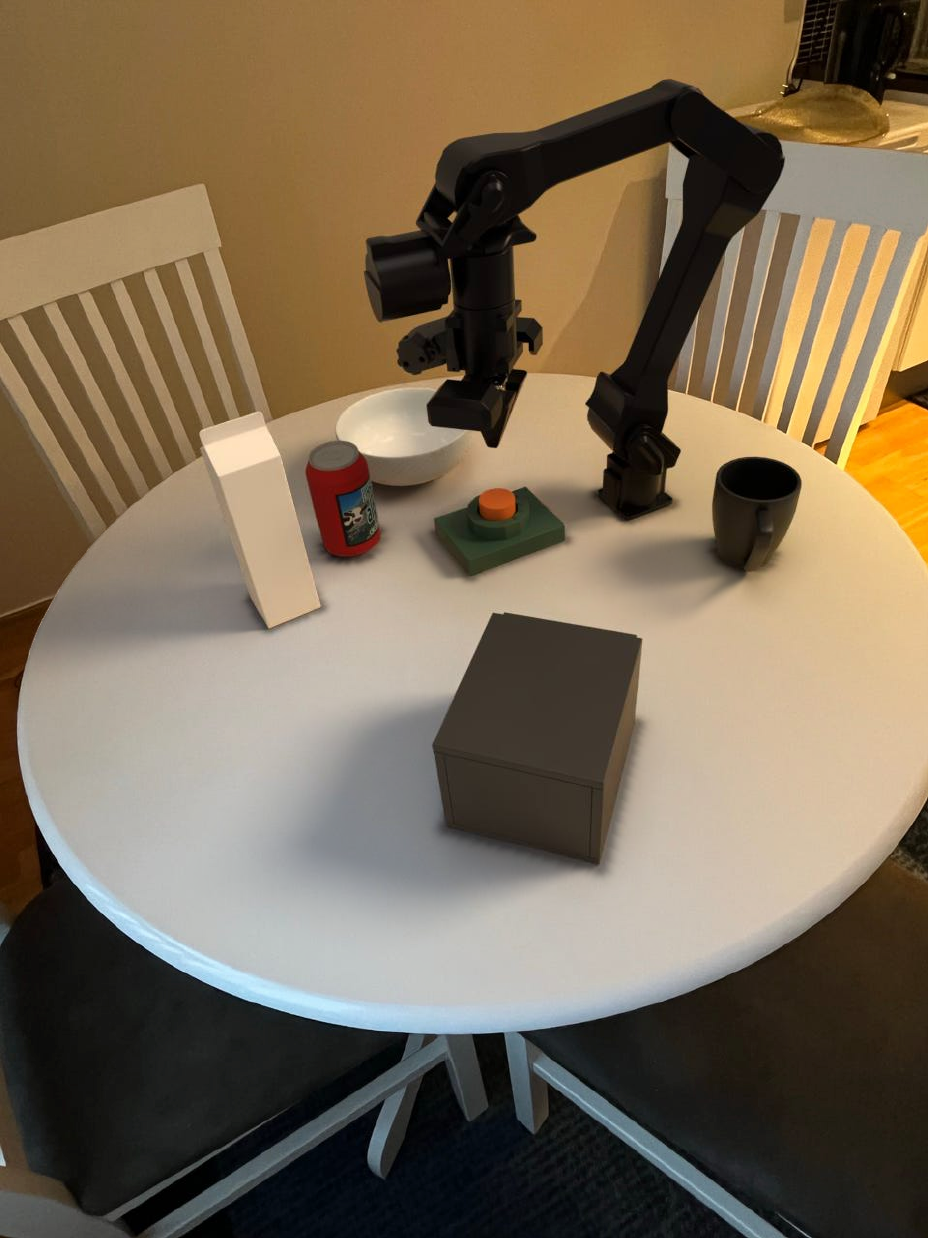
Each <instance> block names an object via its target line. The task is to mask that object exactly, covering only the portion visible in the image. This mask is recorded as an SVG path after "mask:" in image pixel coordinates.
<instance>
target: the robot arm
mask: <svg viewBox="0 0 928 1238" xmlns="http://www.w3.org/2000/svg"><path fill="white" fill-rule="evenodd" d="M667 144H670V145H671V147H672V148H674V149H675V151H677V152H678V153H680V154H681V155H682V156H683V157H684V158H686V159H688V162H687V164H686V165H687V166H686V169H685V172H684V177H683V181H682V220H681V223H680V227H679V228H678V231H677V234H676V235H675V238H674V241H673V243H672V245H671V248H670V251H669V253H668V255H667V258H666V260H665V263H664V265H663V268H662V270H661V273H660V275H659V276H658V277H659V278H658V280H657V283H656V285H655V287H654V289H653V292H652V295H651V296H650V300H649V302H648V305H647V307H646V309H645V311H644V314H643V317H642V319H641V321H640V324H639V327H638V329H637V331H636V334H635V336H634V339H633V341H632V343H631V346H630V348H629V351H628V353H627V356H626V358H625V360H624V362H623V363H622V364H621V365H619V366H618V367H617V368H616V369H615V370H614V371H612V373H611V374H609V373H607V372H605V371H600V372H599V373H598V374H597V376H596V379H595V383H594V387H593V390H592V393H591V394H590V396H589V398H588V399H587V400H586V401H585V403H584V405H585V406H586V407H587V408H588V409H587V410H588V411H587V413H586V421H587V422H588V425H589V428H590V429H591V430H592V431H593V433H595V435H597V437H598V438H599V439H600V440H601V441H602V442H603V443H604V444H605V445H606V446H607V448H609V449H610V450H611V451H612V452H610V453H608V454H606V468H604V469H603V472H602V473H603V474H602V487H601V488H599V489H598V490H597V495H598V497H600V498H601V499H602V500H603V501H604V502H606V503H607V504H608V505H609V506H610V507H611V508H612V509H613V510H615V511H616V513H618V514H619V515H620V516H621V517H623V519H625V520H629V521H630V520H632V519H635V518H638V517H640V516H643V515H645V514H648V513H651V512H654V511H656V510H659V509H661V508H664V507H667V506H669V505H672V504H673V500H674V499H673V497H672V496H671V495H669V493H666V483H667V473H668V470H669V469H671V468H674V467H675V466H676V464H677V461H678V460H679V457H680V456H681V452H682V449H681V448H680V447H679V446H678V445H677V444H675V442H673V441H672V440H671V439H670V438H669V437H668V436H667V435H666V434H665V433H664V432H663V431H664V427H665V424H666V421H667V417H668V415H669V379H670V376H671V375H672V372H673V369H674V367H675V366H676V364H677V361H678V359H679V357H680V354H681V352H682V349H683V348H684V346H685V345H684V344H685V343H686V340H687V338H688V336H689V334H690V331H691V330H692V327H693V325H694V322H695V320H696V318H697V316H698V313H699V311H700V309H701V307H702V305H703V303H704V301H705V298H706V296H707V294H708V291H709V289H710V287H711V284H712V282H713V280H714V277H715V276H716V273H717V271H718V269H719V266H720V264H721V262H722V260H723V258H724V255H725V253H726V250H727V248H728V246H729V244H730V242H731V241H732V239H733V237H735V236H736V235H737V234H738V233H739V232H741V230H742V229H744V228H745V227H746V226H747V225H748V224H749V223H750V222H751V221H752V220H753V219H754V218H755V217H757V216H758V215H759V214H760V212H761V211H762V209H763V207H764V205H765V204H766V203H767V200H768V199H769V197H770V196H771V194H772V192H773V190H775V188H776V185H777V184H778V182H779V180H780V178H781V176H782V173H783V170H784V167H785V162H786V156H785V155H784V152H783V146H782V143H781V142H780V139H779V138H778V137H777V136H776V135H775V134H773V133H772V132H770V131H768V130H764V129H761V128H759V127H755V126H753V125H750V124H747V123H745V122H741V121H739V120H738V119H737V118H735V117H733V115H731V114H730V113H727V112H726V111H725V110H724V109H722V108H720V107H719V106H718V105H716V104H715V103H714V102H713V101H711V100H710V99H709V98H708V97H707V96H706V95H704V93H703V91H702V90H701V89H700V88H699V87H696V86H695V85H691V84H688V83H685V82H681V81H678V80H676V79H673V78H667V79H662V80H660V81H658V82H657V83H655V84H654V85H652V86H651V87H649V88H647V89H644V90H640V91H639V92H635V93H633V94H630V95H627V96H624V97H621V98H620V99H616V100H613V101H610V102H609V103H606V104H603V105H601V106H597V107H596V108H593V109H590V110H586V111H584V112H582V113H578V114H576V115H573V116H571V117H568V118H564V119H562V120H560V121H557V122H554V123H551V124H549V125H546V126H543V127H541V128H538V129H535V130H528V131H524V132H523V131H521V132H492V133H485V134H477V135H472V136H466V137H460V138H458V139H455V140H454V141H452V142H451V143H449V144H448V145H447V146H446V147H444V148H443V150H442V152H441V156H440V158H439V159H438V160H437V161H438V162H437V164H436V169H435V173H434V175H435V176H434V179H435V180H434V181H435V183H434V184H433V185H432V188H431V191H430V192H429V194H428V196H427V198H426V200H425V202H424V204H423V206H422V208H421V210H420V212H419V214H418V216H417V218H416V220H415V226H416V227H417V228H418V230H415V231H414V230H413V231H410V232H404V233H399V234H394V235H389V236H388V235H377V236H371V237H367V238H366V240H365V246H366V254H365V257H364V260H365V261H364V266H365V270H364V271H363V276H364V282H365V287H366V292H367V297H368V299H369V303H370V306H371V309H372V312H373V314H374V317H375V319H376V321H377V322H378V323H380V324H381V323H384V322H389V321H394V320H399V319H403V318H408V317H412V316H413V317H414V316H418V315H421V314H427V313H431V312H436V311H439V310H441V309H442V307H443V306H445V305H448V304H449V296H450V295H451V292H452V305H453V306H452V307H453V309H452V310H451V312H450V313H449V314H448V315H446V316H444V317H441V318H437V319H435V320H431V321H428V322H425V323H423V324H422V323H421V324H420V325H417V326H415V327H413V328H412V329H411V330H410V331H409V332H408V333H407V334H405V335H403V337H402V338H401V339H400V340H399V342H398V346H397V349H396V353H397V356H398V358H397V361H396V363H397V365H398V366H399V367H400V368H402V369H403V371H404V372H406V373H408V374H411V375H412V376H418V375H421V374H422V373H423V372H424V371H428V370H432V369H435V368H438V367H441V366H444V365H446V372H450V373H460V372H461V371H463V372H464V375H463V377H462V378H461V379H460V380H459V379H448V378H447V379H446V380H445V381H444V382H442V384H441V385H440V386H438V388H437V389H436V390H437V391H436V392H435V394H434V395H433V396H432V398H431V399H430V400H429V402H428V403H427V405H426V406H427V414H428V423H429V424H430V425H431V426H434V427H443V428H453V429H462V430H471V431H472V432H480V434H481V436H482V438H483V441H484V443H485V445H486V446H487V448H490V449H497V448H498V447H499V445H500V444H501V441H502V438H503V436H504V433H505V431H506V429H507V426H508V423H509V421H510V417H511V415H512V413H513V411H514V408H515V405H516V403H517V400H518V398H519V395H520V393H521V390H522V388H523V385H524V383H525V380H526V378H527V377H528V376H527V375H528V370H525V369H518V368H517V369H516V368H515V366H516V364H517V362H518V361H519V359H520V357H521V356H522V355H523V352H524V344H527V345H528V346H527V347H528V352H529V354H530V355H531V356H537V355H538V353H539V351H540V349H542V346H543V345H544V335H543V334H544V333H543V332H544V330H543V328H544V327H543V326H542V325H541V324H540V323H539V322H538V321H537V320H536V319H535V318H534V317H523V316H519V315H520V314H521V312H522V311H523V308H522V307H523V305H522V304H523V303H522V302H523V301H522V299H516V287H515V286H516V285H515V282H516V281H515V260H514V258H515V257H514V247H516V246H519V245H525V244H530V243H534V242H535V241H536V240H537V237H538V235H537V233H535V232H534V231H533V230H532V229H530V228H529V227H528V226H527V225H526V224H525V223H524V222H523V221H522V219H521V217H520V216H519V215H520V214H522V213H524V212H525V211H527V210H529V209H530V208H532V206H533V205H534V204H535V203H537V201H538V200H539V199H540V198H541V197H542V196H543V195H544V194H545V193H546V192H547V191H549V190H551V189H553V188H554V187H556V186H558V185H559V184H562V183H565V182H568V181H570V180H573V179H576V178H578V177H580V176H584V175H586V174H588V173H591V172H594V171H597V170H599V169H602V168H605V167H607V166H610V165H612V164H615V163H617V162H620V161H623V160H627V159H628V158H632V157H634V156H637V155H640V154H642V153H645V152H647V151H650V150H653V149H654V148H658V147H661V146H663V145H667ZM454 213H455V214H456V215H455V216H454V219H453V221H451V220H450V219H449V218H450V217H451V216H452V214H454Z"/></svg>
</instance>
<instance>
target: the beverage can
mask: <svg viewBox="0 0 928 1238" xmlns="http://www.w3.org/2000/svg"><path fill="white" fill-rule="evenodd" d="M304 471H305V472H304V473H305V477H306V481H307V486H308V490H309V494H310V499H311V503H312V507H313V509H314V516H315V519H316V522H317V523H316V524H317V527H318V530H319V535H320V538H321V542H322V545H323V547H324V548H325V550H326V551H327V552H329V553H330V554H332V555H335V556H338V557H340V556H341V557H355V556H359V555H362V554H365V553H366V552H368V551H370V550H371V549H373V548H374V547H376V545H377V544H378V542H379V541H380V539H381V529H380V523H379V517H378V512H377V505H376V501H375V495H374V490H373V485H372V481H371V479H370V474H369V469H368V464H367V460H366V458H365V457H364V456H363V455H362V454H361V453H360V451H359V450H358V448H357V446H356V445H355V444H353V443H351V442H347V441H337V440H332V441H327V442H323V443H321V444H319V445H317V446H315V447H314V448H313V449H312V450H311V451H310V452H309V454H308V461H307V464H306V467H305V470H304Z"/></svg>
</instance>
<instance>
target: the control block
mask: <svg viewBox="0 0 928 1238" xmlns="http://www.w3.org/2000/svg"><path fill="white" fill-rule="evenodd" d="M510 491H511V492H512V493H513V494H514V495H515V505H516V512H515V514H514V516H513V517H511V518H508V519H505V520H503V521H490V520H487V519H484V518H483V517H482V516H481V515H480V508H479V497H480V495H481V494H478V495H476V496H475V497H474V498H473V499H472V500H471V501H469V502H468V503H467V505H466V507H462V508H460V509H457V510H455V511H451V512H448V513H446V514H443V515H440V516H438V517H435V518H433V522H434V530H435V535H436V536H437V537H438V538H439V540H440V541H441V542H442V543H443V545H444V546H445V547H446V549H447V550H448V551H449V552H450V553H451V554H452V556H453V557H454V558H455V560H456V561H457V562H458V563H459V565H460V566H461V567H462V568H463V570H464V571H465V572H466V574H467V575H468V576H469V577H472V576H475V575H477V574H480V573H482V572H485V571H488V570H490V569H493V568H496V567H499V566H501V565H504V564H506V563H509V562H512V561H514V560H517V559H520V558H522V557H525V556H528V555H530V554H533V553H535V552H538V551H540V550H543V549H546V548H548V547H551V546H554V545H556V544H559V543H561V542H564V541H566V524H565V523H564V522H563V521H562V520H560V518H559V517H558V516H557V515H555V514H554V513H553V511H551V509H549V508H548V507H547V505H545V504H544V502H542V501H541V500H540V499H539V497H537V496H536V495H535V494H534V493H533V492H532V491H531V490H530V489H529V488H528V487H527V486H522V487H520V488H517V489H514V490H510Z"/></svg>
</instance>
